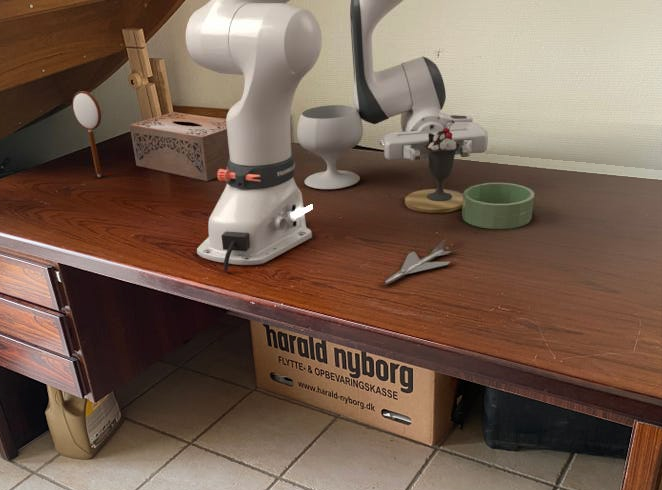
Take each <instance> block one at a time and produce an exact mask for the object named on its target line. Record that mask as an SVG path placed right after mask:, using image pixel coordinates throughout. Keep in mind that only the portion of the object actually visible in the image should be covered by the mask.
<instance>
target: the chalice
mask: <svg viewBox="0 0 662 490" xmlns="http://www.w3.org/2000/svg"><path fill="white" fill-rule="evenodd" d="M362 121H363V120H362V119H361V118H360V115H359V113H358V111H357V110H356V108H355V106H351V105H344V104H330V105H322V106H321V105H320V106H315V107H310V108H307V109H306V110H304V111H303V112H301V115H300V117H299V119H298V123H297V130H296V131H297V132H296V137H297V141H298V143H299V145H300V147H302V148H303V149H305V150H306V151H308V152H309V153H312V154H314V155H317V156H318V157H320V158H321V159H323V160H324V162H325V163H326V166H327V167H326V170H325V171H320V172H315V173H313V174H311V175H309V176H307V177H306V178H305V179H304V184H305V185H306V186H307V187H308V188H309V187H310V188H313V189H319V190H336V189H343V188H347V187H351V186H353V185H356V184H357V183H358V182H360V180H361V178H360V176H359V175H358V174H357V173H355V172H354V171H353V172H352V171H349V170H339V169H338V170H337V166H336V165H337V161H338V160H339V159H340V158H341V156H343V155H344V154H345V153H347V152H349V151H350V150H353V148H355V147H356V146H357V145H359V143H360V142H361V140H362V138H363V135H364V125H363V122H362Z"/></svg>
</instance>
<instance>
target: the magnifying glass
mask: <svg viewBox="0 0 662 490" xmlns="http://www.w3.org/2000/svg"><path fill="white" fill-rule="evenodd" d="M71 108H72V114H73V117H74V118H75V121H76V122H77V123H78V124H79V125H80V126H81V127H82V128H84V129H85V130H88V131H87V134H88V139H89V145H90V148H91V149H90V150H91V153H92V159H93V164H94V169H95V174H96V175H97V177H98V178H101V177H102V169H101V164H100V159H99V154H98V148H97V145H96V139H95V132H94V131H93V130H95V129H97V128H98V127H99V126H100V123H101V122H102V111H101V107H100V104H99V101H97V99H96V97H94V95H93V94H91V93H90V92H89V91H86V90H80V91H77V92H76V93H75V94H74V95H73V96H72V100H71Z"/></svg>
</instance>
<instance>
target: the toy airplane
mask: <svg viewBox="0 0 662 490" xmlns="http://www.w3.org/2000/svg"><path fill="white" fill-rule="evenodd" d="M446 241H447V238H445V239H443V240H442V241H440V242H439V243H438V244H437V245H436V246H435V247H434V248H433V249H432V250H431V252H429V254H427V255H426V256H425V257H422V258H420V257H419V256H418V254H417V253H416V250H415V251H411V252H409V253H408V254H407V255H406V258H405V260H404V262H403V264H402V266H401V268H400V269H399V270H398V271H397V272H396V273H395V274H392V275H391V276H390V277H388V278H387V279H386V280H385V281H383V285H385V286H386V285H390V284H392V283H394V282H397V281H398V280H400V279H402V278H403V277H405V276H407V275H409V274H413V273H418V272H422V271H427V270H431V269H435V268H440V267H444V266H447V265H449V264H450V263H451V262H452V261H450V260H449V261H433V260H434V259H436V258H437V257H440V256H445V255H449V254H450V253H451V252H453V250H449V246H447V247H446V249H447V250H444V249H443V248H444V245H445V243H446ZM450 245H451V246H453V243H451V244H450Z"/></svg>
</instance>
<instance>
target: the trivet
mask: <svg viewBox="0 0 662 490" xmlns="http://www.w3.org/2000/svg"><path fill="white" fill-rule="evenodd" d="M436 189H437V188H430V189H429V188H428V189H421V190H417V191H413V192H411V193H408V194H407V195H406V196H405V198H404V205H405V206H406V207H407V208H408V209H410V210H413V211H416V212H419V213H426V214H445V213H451V212H455V211H459V210H462V205H463V193H461V192H459V191H456V190H451V189H447V188H446V189H445V188H443V190H444V192H445V193H449V194H451V195H452V198H451V199H449V200H446V201H433V200H429V199H428V198H427V195H428V194H430V193H434V192H435V191H436Z"/></svg>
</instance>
